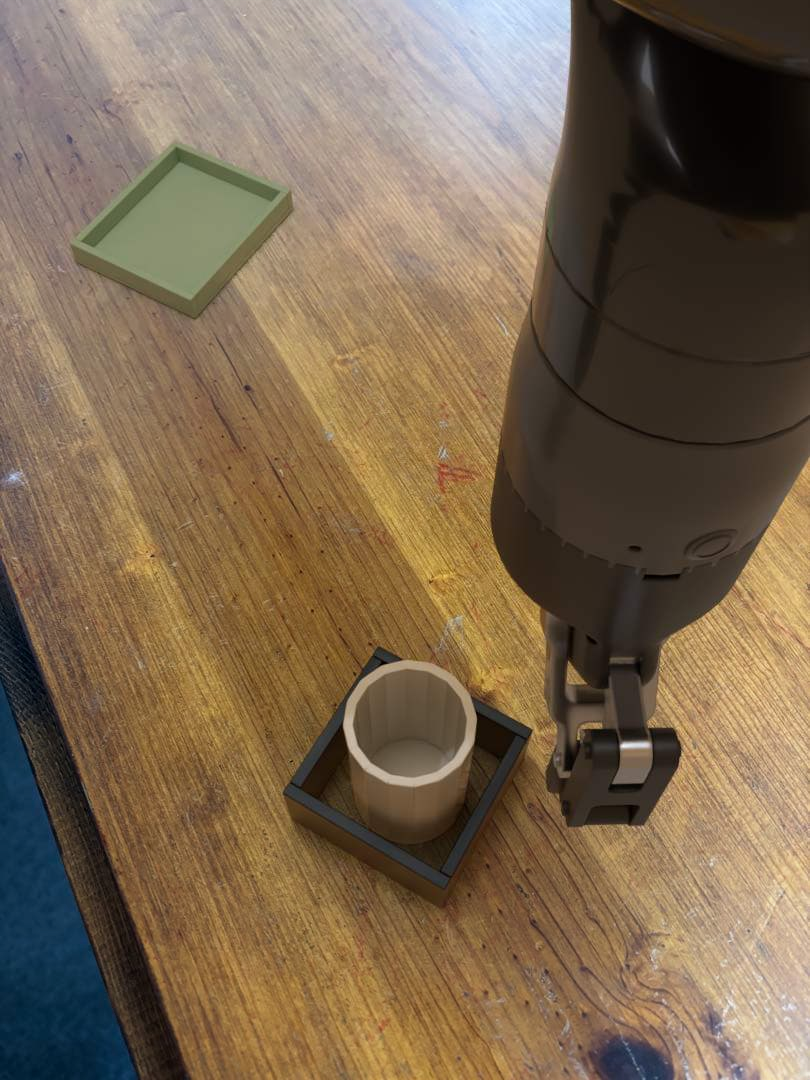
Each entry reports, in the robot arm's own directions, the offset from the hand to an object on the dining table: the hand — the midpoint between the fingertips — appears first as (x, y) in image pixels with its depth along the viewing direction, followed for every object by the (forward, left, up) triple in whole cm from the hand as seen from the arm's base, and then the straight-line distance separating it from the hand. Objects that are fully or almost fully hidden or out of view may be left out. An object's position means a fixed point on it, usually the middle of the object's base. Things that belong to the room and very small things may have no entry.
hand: (562, 677), depth 42 cm
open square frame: (-1, +6, -21) cm, 22 cm away
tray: (+28, +43, -21) cm, 55 cm away
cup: (-1, +6, -21) cm, 22 cm away
